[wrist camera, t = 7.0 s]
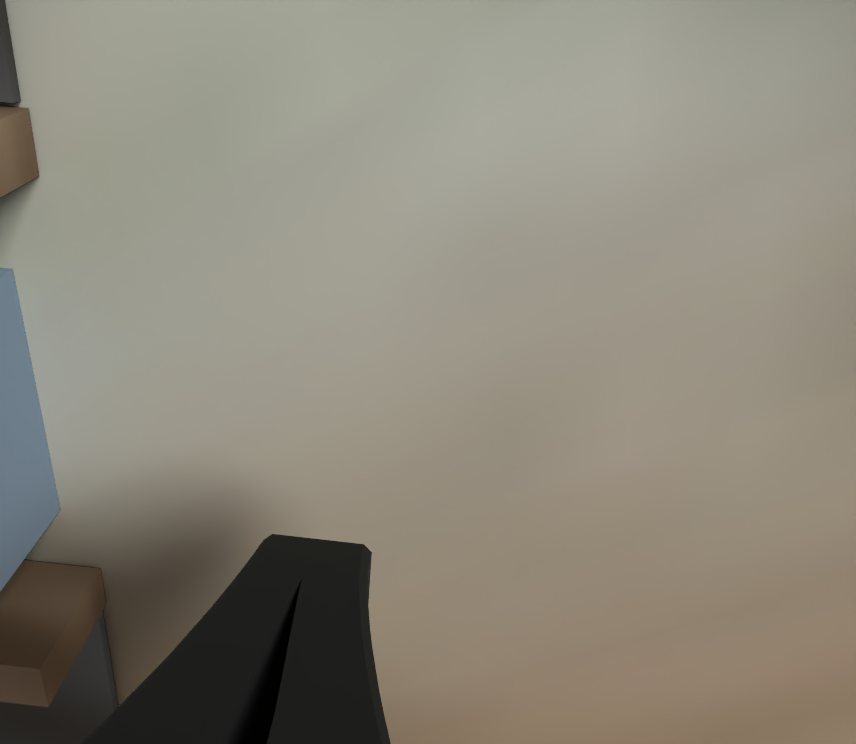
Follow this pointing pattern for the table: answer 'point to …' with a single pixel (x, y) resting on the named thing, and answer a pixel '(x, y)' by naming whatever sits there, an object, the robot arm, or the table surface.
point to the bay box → (39, 581)
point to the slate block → (20, 442)
